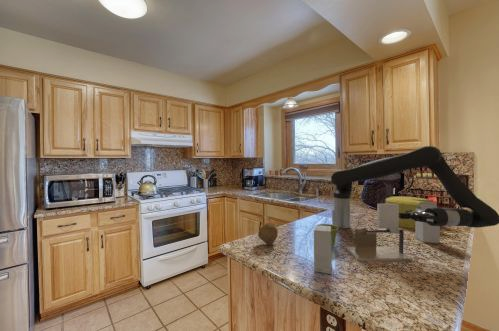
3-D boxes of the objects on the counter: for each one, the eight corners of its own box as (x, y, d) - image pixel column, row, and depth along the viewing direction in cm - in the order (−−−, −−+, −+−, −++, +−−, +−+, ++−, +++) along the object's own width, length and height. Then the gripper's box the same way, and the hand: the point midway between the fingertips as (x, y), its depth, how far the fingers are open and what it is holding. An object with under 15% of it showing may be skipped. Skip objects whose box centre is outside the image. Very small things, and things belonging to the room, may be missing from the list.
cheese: (448, 229, 129) (448, 203, 128) (402, 229, 129) (402, 203, 129) (415, 217, 155) (415, 195, 154) (377, 217, 155) (377, 195, 155)
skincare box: (331, 274, 78) (331, 232, 77) (313, 271, 80) (313, 230, 80) (331, 264, 86) (332, 225, 85) (315, 261, 88) (315, 223, 87)
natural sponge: (255, 246, 103) (255, 224, 103) (261, 240, 111) (261, 220, 111) (275, 249, 100) (275, 227, 99) (279, 242, 108) (279, 221, 108)
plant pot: (337, 243, 107) (338, 225, 107) (338, 250, 98) (339, 230, 98) (317, 240, 110) (317, 223, 110) (316, 247, 101) (316, 228, 101)
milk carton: (439, 243, 107) (440, 203, 106) (422, 242, 108) (423, 203, 108) (430, 238, 114) (431, 200, 113) (415, 237, 115) (415, 200, 115)
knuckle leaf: (379, 233, 93) (380, 204, 92) (375, 231, 95) (376, 203, 95) (399, 233, 93) (399, 204, 92) (394, 231, 95) (395, 203, 95)
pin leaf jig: (358, 260, 88) (359, 233, 88) (345, 248, 100) (346, 224, 100) (412, 261, 88) (413, 233, 88) (393, 248, 100) (393, 224, 100)
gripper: (455, 231, 87) (409, 229, 88) (428, 221, 100) (389, 220, 101) (456, 211, 87) (410, 210, 87) (429, 204, 100) (390, 203, 100)
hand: (399, 215), depth 94 cm, fingers closed
